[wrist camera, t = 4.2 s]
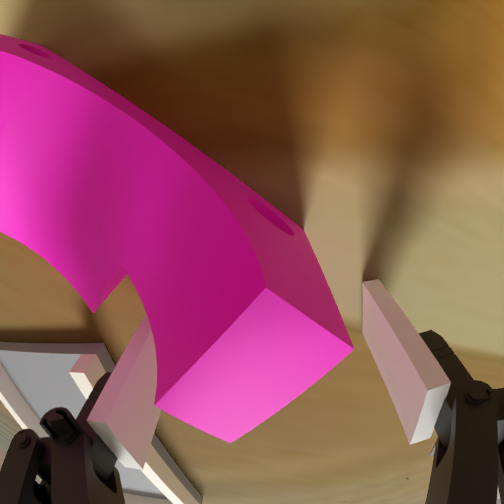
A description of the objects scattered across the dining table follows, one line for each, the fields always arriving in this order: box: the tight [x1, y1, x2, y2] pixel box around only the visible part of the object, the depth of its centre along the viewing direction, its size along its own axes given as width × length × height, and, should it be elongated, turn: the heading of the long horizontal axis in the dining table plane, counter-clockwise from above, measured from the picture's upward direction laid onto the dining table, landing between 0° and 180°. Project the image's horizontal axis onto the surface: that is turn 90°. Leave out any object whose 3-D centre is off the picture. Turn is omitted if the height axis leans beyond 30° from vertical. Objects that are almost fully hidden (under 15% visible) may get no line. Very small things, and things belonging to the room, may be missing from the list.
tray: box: [0, 342, 203, 504], centre depth 17 cm, size 19×11×2 cm, turn 10°
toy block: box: [0, 34, 354, 443], centre depth 8 cm, size 15×6×8 cm, turn 52°
